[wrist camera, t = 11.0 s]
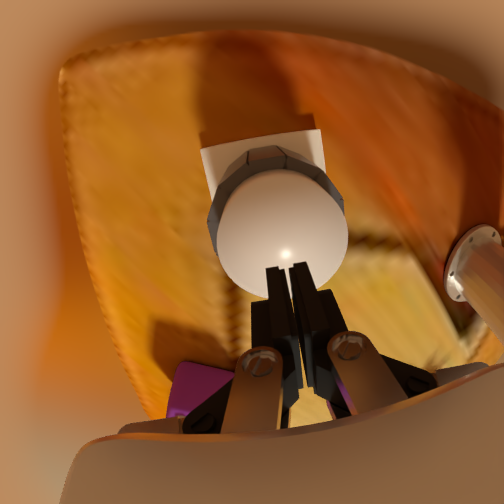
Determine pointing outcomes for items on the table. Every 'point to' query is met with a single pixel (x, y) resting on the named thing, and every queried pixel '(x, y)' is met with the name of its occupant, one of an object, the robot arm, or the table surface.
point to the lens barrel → (262, 166)
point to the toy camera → (194, 387)
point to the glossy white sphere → (280, 229)
